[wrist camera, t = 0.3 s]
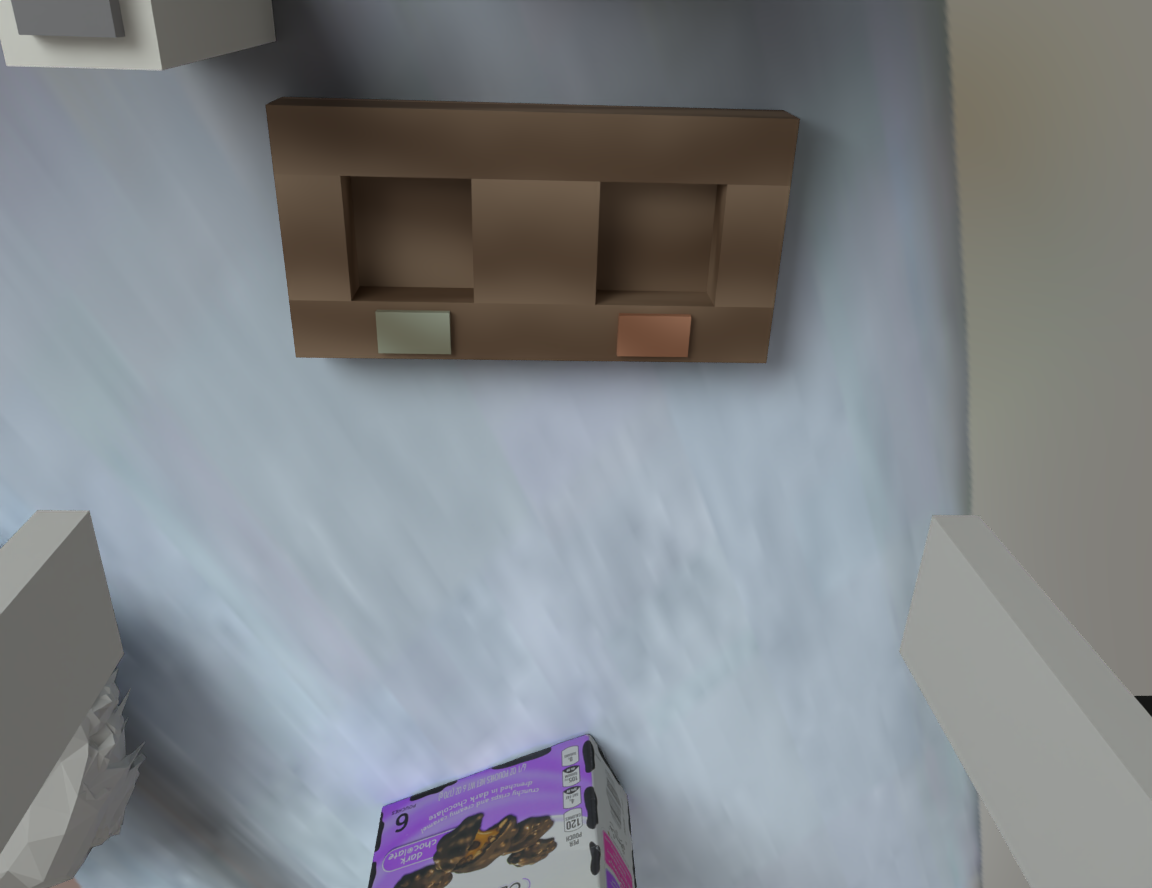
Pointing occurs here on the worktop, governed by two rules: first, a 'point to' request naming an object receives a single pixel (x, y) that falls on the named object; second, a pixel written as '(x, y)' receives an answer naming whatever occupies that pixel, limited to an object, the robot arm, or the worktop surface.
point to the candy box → (513, 827)
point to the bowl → (75, 800)
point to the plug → (130, 31)
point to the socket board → (530, 229)
